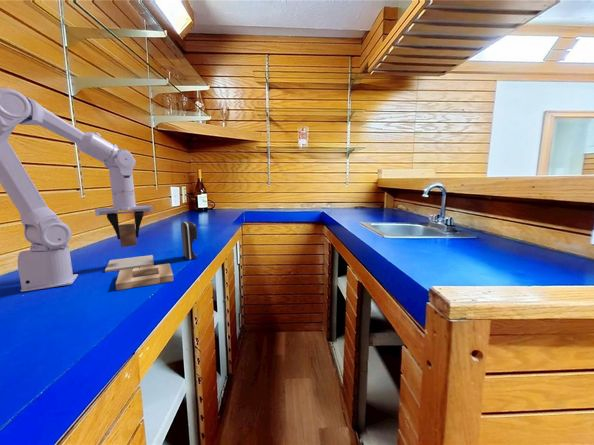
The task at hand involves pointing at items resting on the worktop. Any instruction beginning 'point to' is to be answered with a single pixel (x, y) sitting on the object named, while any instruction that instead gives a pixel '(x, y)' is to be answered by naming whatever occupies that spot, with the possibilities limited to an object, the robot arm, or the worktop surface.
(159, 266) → the wooden board
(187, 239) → the coffee machine
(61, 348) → the worktop surface
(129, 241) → the block
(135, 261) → the mat
